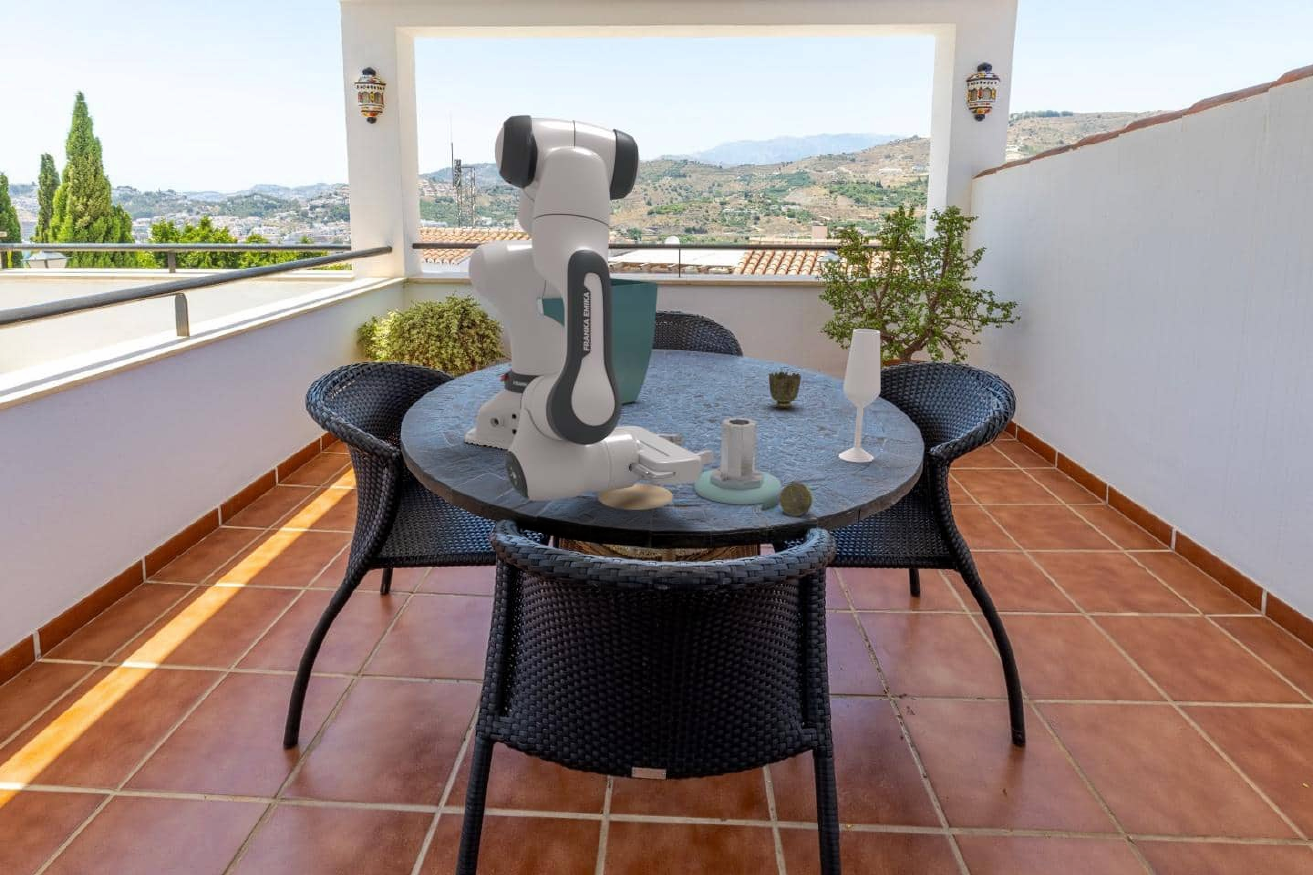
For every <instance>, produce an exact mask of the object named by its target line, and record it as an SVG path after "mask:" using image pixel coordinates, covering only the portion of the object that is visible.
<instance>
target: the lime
mask: <svg viewBox="0 0 1313 875" xmlns="http://www.w3.org/2000/svg"><path fill="white" fill-rule="evenodd" d="M779 504H780V507H781V509H782V510H783V512H784V513H785V514H787V515H788V516H792V517H798V516H801V515H805V514H807V513H808V512H809V510H810V509H811V507H812V505H813V493H812V491H811V490H810V489H809V487H808V486H807V485H806V484H804V483H801V482H797V481H794V482H790V483H789V484H787V485H785V486H784V488H783V489H782V490H781V494H780V501H779Z"/></svg>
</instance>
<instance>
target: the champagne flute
mask: <svg viewBox="0 0 1313 875" xmlns="http://www.w3.org/2000/svg"><path fill="white" fill-rule="evenodd" d="M852 331H853V332H852V336H851V342H850V346H849V347H850V348H849V354H848V358H847V365H846V370H845V377H844V382H843V387H842V390H843V393H844V394H845V396H846V398H847V400H849V402H850V403H851V404H852V405H853V406H855V407H856V418H855V431H854V441H853V444H854V445H853V447H852V448H849V449H847V450H846V451H845V450H844V451H843V452H841V453H839V454H838V455H839V456H838V458H839V459H841V460H843V461H847V462H851V463H869V462H873V461H874V460H875V456H873V455H872V454H871V453H869V452H867V451H866V450H864V449H863V448H862V447H861V441H862V432H863V418H864V408H866V407H869V405H871V404H872V403H873V402H874V401H875V400H876V399H877V398H878V396H880V394H881V331H880V330H877V329H868V328H857V329H856V328H855V329H853V330H852ZM873 459H874V460H873ZM872 460H873V461H872Z"/></svg>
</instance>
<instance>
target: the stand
mask: <svg viewBox="0 0 1313 875" xmlns="http://www.w3.org/2000/svg"><path fill="white" fill-rule="evenodd" d="M673 499H674V495H673V493H672V492H671V491H670V490H668V489H666V488H664V487H662V486H660V485H656V484H648V483H635V484H634V485H633V486H632V487H629V488H623V489H617V490H611V491H606V492H597V500H598V501H599V503H601V504H603V505H605V506H608V507H611V508H615V509H620V510H621V509H622V510H629V511H630V510H631V511H632V510H633V511H640V510H641V511H642V510H651V509H656V508H660V507H663V506H666V505H668V504H669V503H671V502H672V501H673Z"/></svg>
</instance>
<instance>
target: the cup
mask: <svg viewBox="0 0 1313 875" xmlns="http://www.w3.org/2000/svg"><path fill="white" fill-rule="evenodd" d="M801 380H802V375H801V374H800V373H799V372H797V373H795V372H793V373H792V374H788V372H787V371H786V372H784V371H783V370H781V371H779V372H777V371H774V373H773V372H770V373H768V381H769V382H768V383H769V392H770V396H771V398H772V399H773V400H774V401H776V402H775V407H776V408H777V409H781V410H787V409H790V408H791V407H792V402H793V401H794V400H796V399H797V397H798V394H799V390H800V385H801Z"/></svg>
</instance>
